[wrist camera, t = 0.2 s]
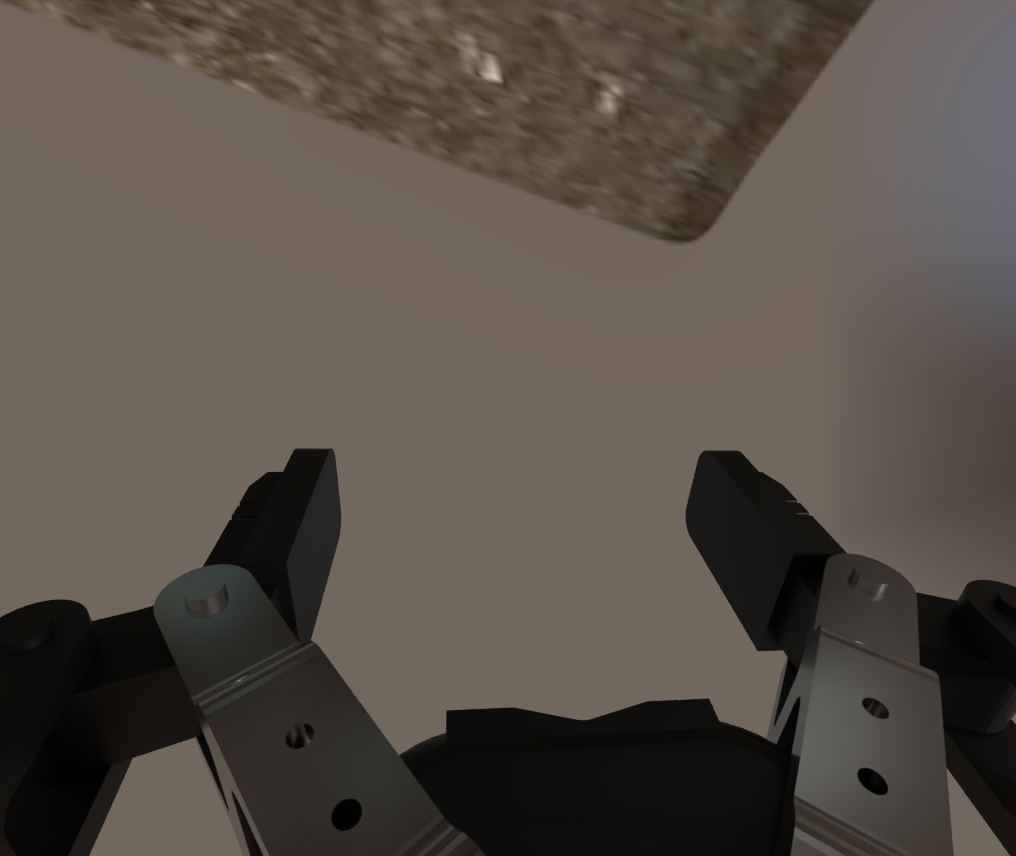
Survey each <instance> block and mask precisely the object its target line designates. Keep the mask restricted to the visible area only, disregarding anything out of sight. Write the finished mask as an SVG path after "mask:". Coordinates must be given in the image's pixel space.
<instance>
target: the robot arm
mask: <svg viewBox="0 0 1016 856" xmlns="http://www.w3.org/2000/svg"><path fill="white" fill-rule="evenodd" d="M686 525H687V529H688V532H689V535H690V537H691V538H692V540H693V542H694V544H695V545H696V547H697V549H698V551H699V552H700V554H701V556H702V557H703V559H704V561H705V562H706V564H707V566H708V568H709V569H710V571H711V573H712V574H713V576H714V578H715V579H716V581H717V583H718V585H719V586H720V588H721V590H722V591H723V593H724V595H725V596H726V598H727V600H728V602H729V603H730V605H731V607H732V608H733V610H734V612H735V613H736V615H737V617H738V618H739V620H740V622H741V624H742V625H743V627H744V629H745V630H746V632H747V633H748V635H749V637H750V639H751V640H752V642H753V644H754V645H755V647H756V649H757V650H758V651H776V650H777V651H778V650H783V651H784V652H785V654H786V655H787V659H786V662H785V664H784V667H783V670H782V673H781V677H780V682H779V686H778V691H777V695H776V699H775V704H774V708H773V713H772V717H771V722H770V726H769V730H768V735H767V739H765V738H763V737H762V736H760V735H758V734H755V733H753V732H750V731H748V730H746V729H743V728H740V727H737V726H734V725H730V724H728V723H724V722H720V721H719V720H718V717H717V715H716V713H715V711H714V709H713V706H712V704H711V702H710V700H709V699H691V700H669V701H647V702H644V703H641V704H637V705H635V706H631V707H628V708H625V709H622V710H619V711H616V712H612V713H609V714H606V715H603V716H600V717H597V718H594V719H590V720H575V719H570V718H565V717H559V716H555V715H550V714H544V713H539V712H534V711H529V710H524V709H518V708H491V709H470V710H449V711H447V714H446V733H444V734H441V735H438V736H435V737H432V738H430V739H427V740H426V741H423V742H421V743H419V744H417V745H415V746H413V747H412V748H410V749H408V750H407V751H405V752H403V753H402V754H400V755H398V754H397V752H396V751H395V750H394V748H393V747H392V746H391V744H390V743H389V741H388V740H387V739H386V738H385V736H384V734H383V733H382V732H381V730H380V729H379V728H378V726H377V725H376V724H375V722H374V721H373V720H372V718H371V717H370V715H369V714H368V713H367V711H366V710H365V709H364V707H363V706H362V704H361V703H360V702H359V700H358V699H357V698H356V696H355V695H354V694H353V692H352V691H351V689H350V688H349V687H348V685H347V684H346V683H345V681H344V680H343V678H342V677H341V676H340V674H339V673H338V672H337V670H336V669H335V668H334V666H333V665H332V663H331V662H330V661H329V659H328V658H327V657H326V655H325V654H324V652H323V651H322V650H321V649H320V647H319V646H318V645H317V644H316V643H314V642H313V641H311V637H312V634H313V630H314V626H315V623H316V619H317V616H318V612H319V609H320V605H321V601H322V598H323V594H324V591H325V587H326V584H327V580H328V576H329V573H330V569H331V566H332V562H333V558H334V555H335V551H336V548H337V544H338V540H339V536H340V528H341V508H340V498H339V488H338V478H337V469H336V459H335V454H334V451H333V449H295V450H294V451H293V453H292V455H291V457H290V459H289V461H288V463H287V465H286V467H285V469H284V471H283V472H267V473H266V474H265V475H263V476H262V477H261V478H260V479H258V480H257V481H255V483H253V484H252V485H250V486H249V488H248V489H247V491H246V493H245V494H244V496H243V498H242V500H241V501H240V506H238V507H237V508H236V510H235V512H234V514H233V515H232V520H230V521H229V522H228V524H227V526H226V528H225V529H224V531H223V533H222V534H221V536H220V538H219V540H218V542H217V543H216V545H215V547H214V548H213V550H212V552H211V554H210V555H209V557H208V559H207V561H206V562H205V564H204V566H203V567H201V568H198V569H195V570H193V571H190V572H188V573H186V574H183V575H182V576H180V577H179V578H177V579H175V580H174V581H172V582H171V583H170V584H169V585H167V586H166V587H165V588H164V589H163V590H162V592H161V593H160V594H159V595H158V597H157V599H156V601H155V604H154V605H153V606H150V607H147V608H144V609H141V610H137V611H133V612H129V613H125V614H120V615H116V616H112V617H108V618H104V619H99V620H96V621H91V618H90V616H89V613H88V611H87V609H86V608H85V607H84V606H83V605H82V604H80V603H78V602H75V601H72V600H49V601H43V602H38V603H35V604H31V605H28V606H24V607H22V608H19V609H17V610H14V611H12V612H10V613H8V614H6V615H4V616H2V617H0V856H89V855H90V853H91V850H92V848H93V846H94V844H95V841H96V839H97V837H98V834H99V832H100V830H101V828H102V826H103V823H104V821H105V819H106V817H107V815H108V812H109V810H110V808H111V806H112V803H113V801H114V799H115V797H116V794H117V792H118V790H119V787H120V785H121V783H122V781H123V779H124V776H125V774H126V772H127V770H128V767H129V765H130V763H131V761H132V758H134V757H137V756H140V755H143V754H146V753H149V752H152V751H155V750H158V749H161V748H164V747H167V746H170V745H173V744H176V743H179V742H182V741H185V740H188V739H191V738H195V741H196V743H197V745H198V748H199V750H200V752H201V755H202V757H203V759H204V761H205V764H206V766H207V768H208V771H209V773H210V776H211V778H212V780H213V782H214V785H215V787H216V789H217V792H218V794H219V796H220V799H221V801H222V803H223V806H224V808H225V810H226V813H227V815H228V817H229V820H230V822H231V824H232V827H233V829H234V831H235V834H236V837H237V839H238V842H239V845H240V847H241V850H242V853H243V856H954V855H953V842H952V830H951V817H950V805H949V793H948V780H947V769H948V770H949V771H950V773H951V774H952V776H953V777H954V778H955V780H956V781H957V782H958V784H959V785H960V787H961V788H962V790H963V791H964V792H965V794H966V795H967V796H968V798H969V799H970V801H971V802H972V803H973V805H974V806H975V808H976V809H977V810H978V812H979V813H980V814H981V816H982V817H983V819H984V820H985V821H986V823H987V824H988V826H989V827H990V828H991V830H992V831H993V833H994V834H995V835H996V837H997V838H998V839H999V841H1000V842H1001V843H1002V845H1003V846H1004V848H1005V849H1006V851H1007V852H1008V853H1009V855H1010V856H1016V724H1015V723H1014V722H1013V721H1012V720H1011V719H1012V717H1013V716H1014V715H1015V713H1016V587H1014V586H1011V585H1008V584H1005V583H1001V582H997V581H991V580H976V581H972V582H970V583H968V584H967V585H966V587H965V589H964V590H963V592H962V594H961V596H960V598H959V599H958V601H956V600H951V599H946V598H941V597H936V596H932V595H927V594H922V593H916V591H915V589H914V587H913V586H912V585H911V583H910V582H909V581H908V580H907V579H906V578H905V577H904V576H903V575H901V574H900V573H899V572H897V571H896V570H894V569H893V568H891V567H890V566H888V565H886V564H884V563H882V562H880V561H877V560H875V559H872V558H869V557H866V556H862V555H858V554H850V553H846V552H845V551H844V550H843V548H842V547H841V546H840V545H839V544H838V543H837V542H836V541H835V540H834V539H833V538H832V537H831V536H830V535H829V534H828V532H827V531H826V530H825V529H824V528H823V527H822V526H821V525H820V524H819V523H818V522H817V521H816V520H815V519H814V517H813V516H809V512H808V511H807V510H806V509H805V508H804V507H803V506H802V505H801V504H800V503H797V499H796V498H795V497H794V496H793V495H792V494H791V493H790V492H789V491H788V490H787V489H786V488H785V487H784V486H783V485H782V484H780V483H779V482H777V481H776V480H774V479H772V478H771V477H769V476H767V475H766V474H764V473H763V472H759V471H758V470H757V469H756V468H755V467H754V466H753V465H752V464H751V463H750V461H749V460H748V459H747V458H746V457H745V456H744V455H743V454H742V453H741V452H740V451H703V452H702V453H701V455H700V456H699V459H698V462H697V466H696V470H695V474H694V479H693V483H692V487H691V491H690V495H689V499H688V503H687V508H686Z"/></svg>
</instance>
